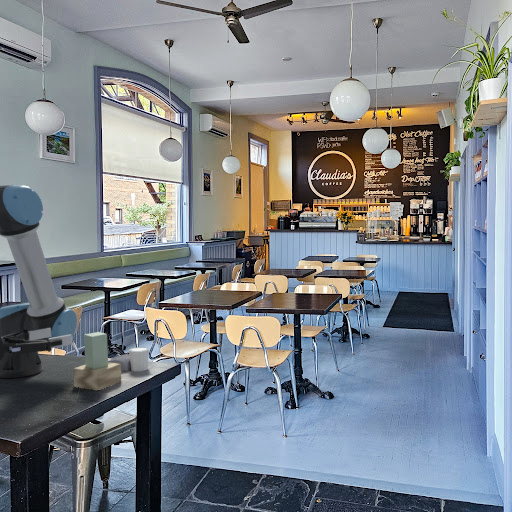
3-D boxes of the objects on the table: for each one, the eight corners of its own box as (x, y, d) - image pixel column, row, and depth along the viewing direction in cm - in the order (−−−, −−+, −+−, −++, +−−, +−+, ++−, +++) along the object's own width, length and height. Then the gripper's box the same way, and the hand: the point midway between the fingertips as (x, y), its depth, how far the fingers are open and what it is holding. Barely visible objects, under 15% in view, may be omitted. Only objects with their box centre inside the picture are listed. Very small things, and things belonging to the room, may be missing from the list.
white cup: (153, 367, 188) (153, 347, 187) (141, 372, 182) (141, 352, 181) (137, 365, 191) (136, 346, 190) (125, 370, 184) (124, 350, 184)
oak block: (74, 387, 167) (73, 368, 166) (96, 379, 176) (96, 360, 175) (99, 391, 162) (99, 371, 162) (121, 382, 171) (120, 363, 171)
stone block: (102, 376, 185) (129, 371, 183) (100, 362, 185) (126, 357, 183) (118, 368, 197) (143, 364, 194) (116, 355, 197) (141, 350, 195)
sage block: (85, 366, 169) (83, 334, 168) (100, 362, 172) (98, 331, 171) (93, 369, 165) (91, 336, 164) (108, 365, 169) (106, 333, 168)
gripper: (-31, 355, 155) (43, 341, 170) (3, 372, 137) (81, 355, 152) (-32, 329, 154) (41, 317, 169) (1, 343, 136) (80, 329, 151)
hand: (60, 335), depth 161 cm, fingers open, 13 cm apart
